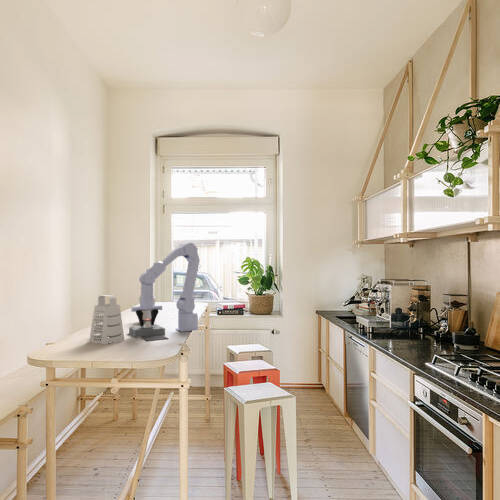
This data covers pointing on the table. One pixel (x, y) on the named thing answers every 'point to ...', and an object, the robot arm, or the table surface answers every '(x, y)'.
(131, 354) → the table surface
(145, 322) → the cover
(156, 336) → the mat
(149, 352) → the table surface
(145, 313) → the coffee cup
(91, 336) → the grater
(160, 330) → the housing
